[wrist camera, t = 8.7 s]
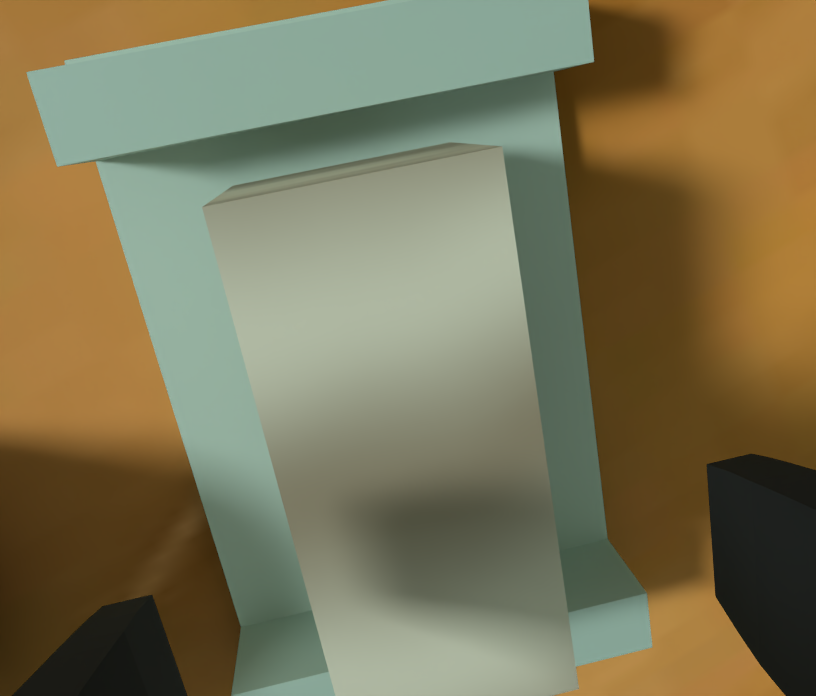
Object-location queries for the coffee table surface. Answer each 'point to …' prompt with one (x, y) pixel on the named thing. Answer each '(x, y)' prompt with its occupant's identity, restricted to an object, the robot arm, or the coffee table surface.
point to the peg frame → (316, 148)
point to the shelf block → (403, 418)
